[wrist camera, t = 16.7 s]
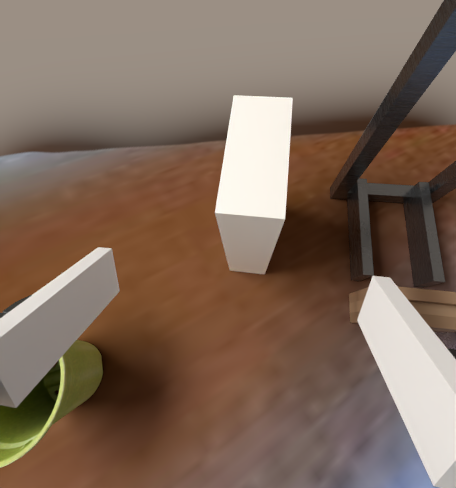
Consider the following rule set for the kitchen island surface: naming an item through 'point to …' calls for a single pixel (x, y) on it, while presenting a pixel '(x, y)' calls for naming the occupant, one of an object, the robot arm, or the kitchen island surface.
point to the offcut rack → (413, 197)
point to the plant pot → (50, 400)
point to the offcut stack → (419, 306)
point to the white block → (254, 181)
